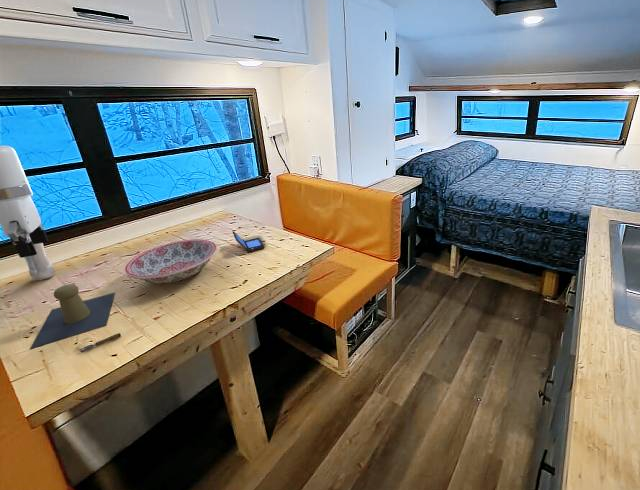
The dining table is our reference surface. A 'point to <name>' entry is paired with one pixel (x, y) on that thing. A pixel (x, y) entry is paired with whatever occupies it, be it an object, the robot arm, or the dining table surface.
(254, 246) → the handheld console
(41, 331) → the mat
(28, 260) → the plastic bottle
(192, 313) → the dining table surface
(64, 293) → the cork
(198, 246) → the ceramic bowl
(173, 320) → the dining table surface
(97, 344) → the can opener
